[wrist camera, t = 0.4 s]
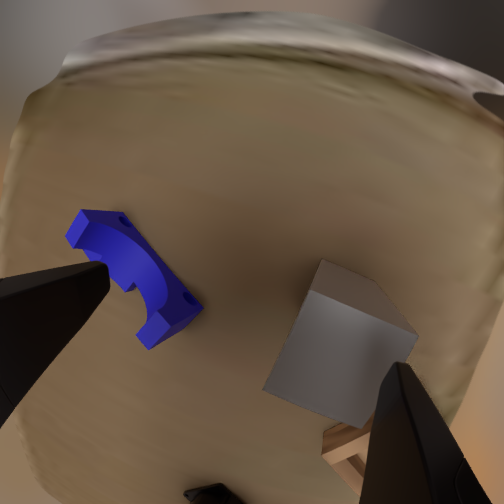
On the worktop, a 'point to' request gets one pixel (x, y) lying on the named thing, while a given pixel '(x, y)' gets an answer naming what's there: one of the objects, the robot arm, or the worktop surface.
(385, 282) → the worktop surface
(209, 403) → the worktop surface
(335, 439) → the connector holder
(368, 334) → the plain gray rectangular block
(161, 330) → the cable clip
